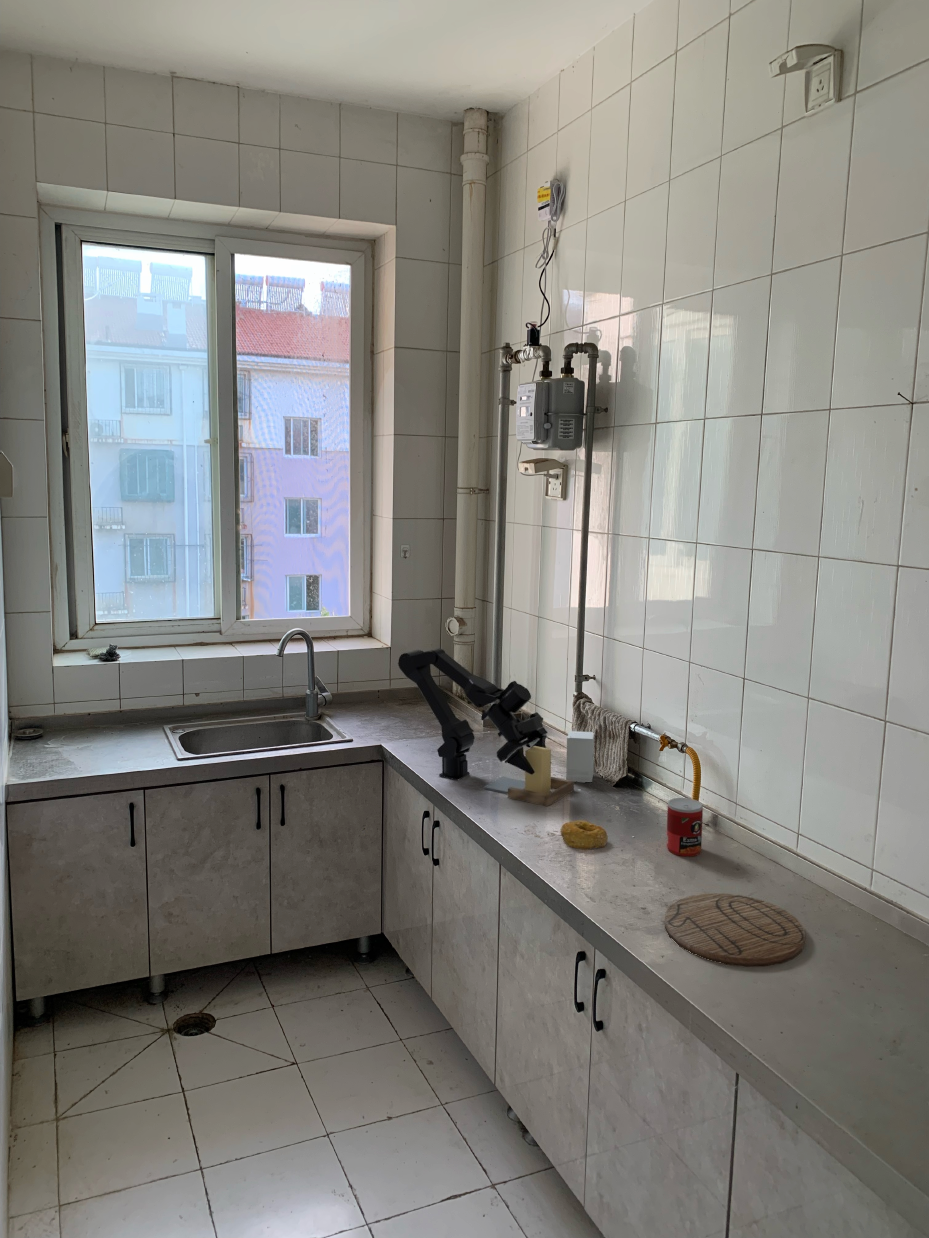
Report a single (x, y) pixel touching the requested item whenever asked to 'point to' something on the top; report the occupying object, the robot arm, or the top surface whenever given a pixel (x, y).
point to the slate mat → (505, 785)
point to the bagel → (583, 835)
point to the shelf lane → (543, 799)
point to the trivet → (735, 929)
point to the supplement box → (580, 756)
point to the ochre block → (539, 770)
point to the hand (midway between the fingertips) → (541, 768)
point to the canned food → (684, 826)
